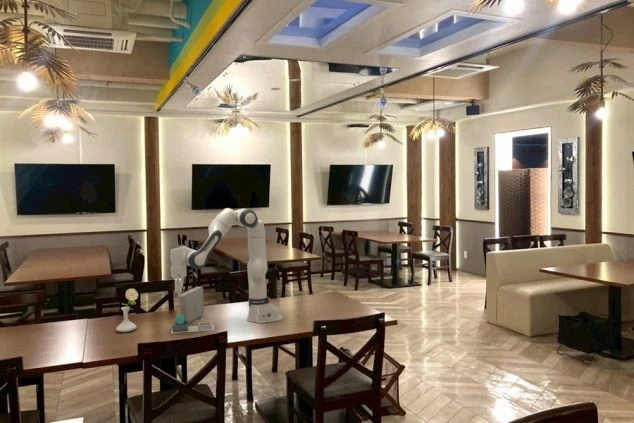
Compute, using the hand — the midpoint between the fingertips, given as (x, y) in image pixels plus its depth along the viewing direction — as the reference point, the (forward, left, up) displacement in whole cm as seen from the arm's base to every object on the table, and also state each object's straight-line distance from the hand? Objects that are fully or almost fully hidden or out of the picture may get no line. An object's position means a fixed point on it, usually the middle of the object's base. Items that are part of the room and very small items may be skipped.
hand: (179, 296), depth 286 cm
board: (-7, 0, -21) cm, 22 cm away
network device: (-6, -21, -21) cm, 31 cm away
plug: (0, 0, -20) cm, 20 cm away
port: (0, 0, -20) cm, 20 cm away
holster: (-14, 0, -20) cm, 24 cm away
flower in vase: (+31, -13, -21) cm, 40 cm away
